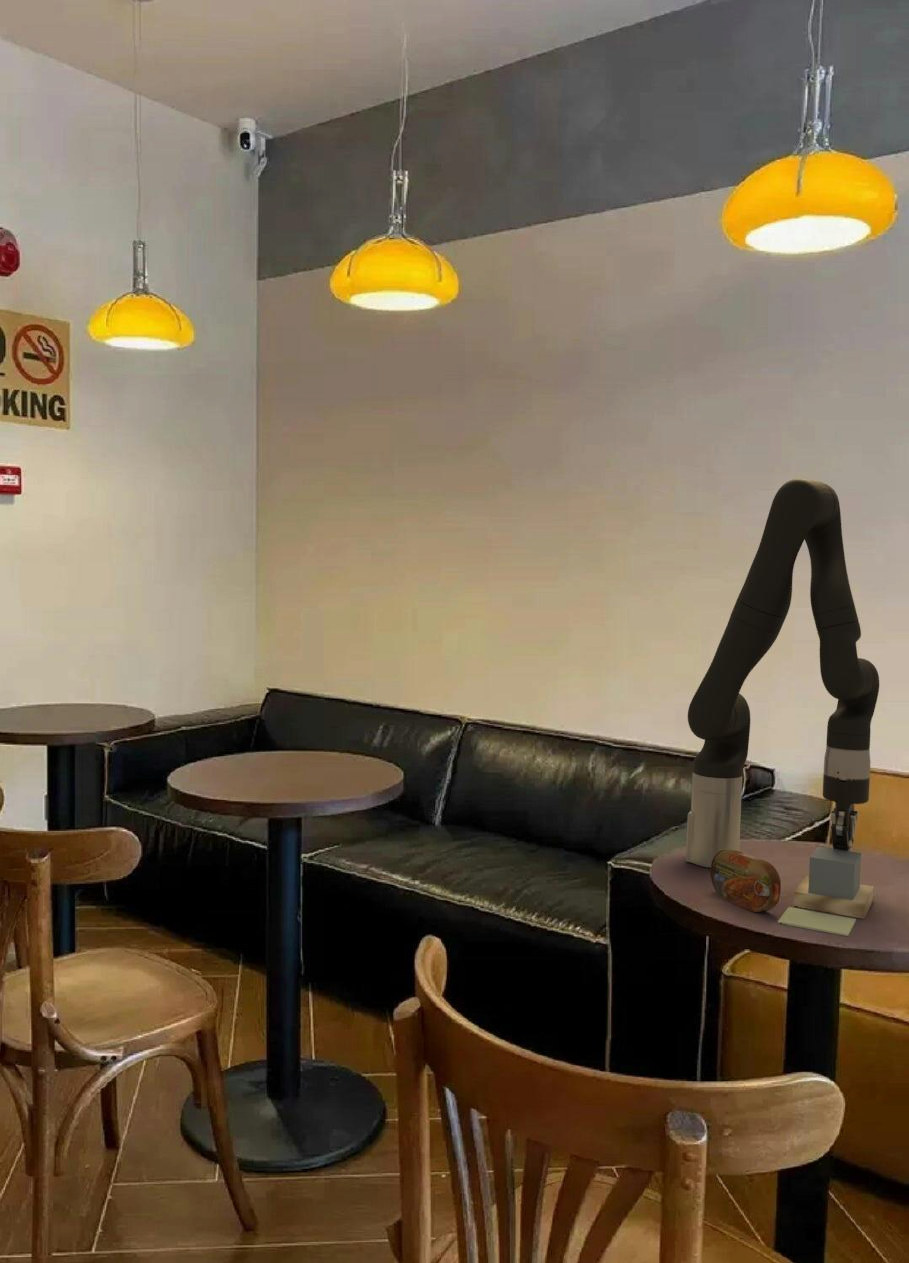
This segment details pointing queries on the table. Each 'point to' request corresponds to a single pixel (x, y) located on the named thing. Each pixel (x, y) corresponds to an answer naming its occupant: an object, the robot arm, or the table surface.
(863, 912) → the block
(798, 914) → the mat
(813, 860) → the box
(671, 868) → the table surface
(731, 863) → the tin
